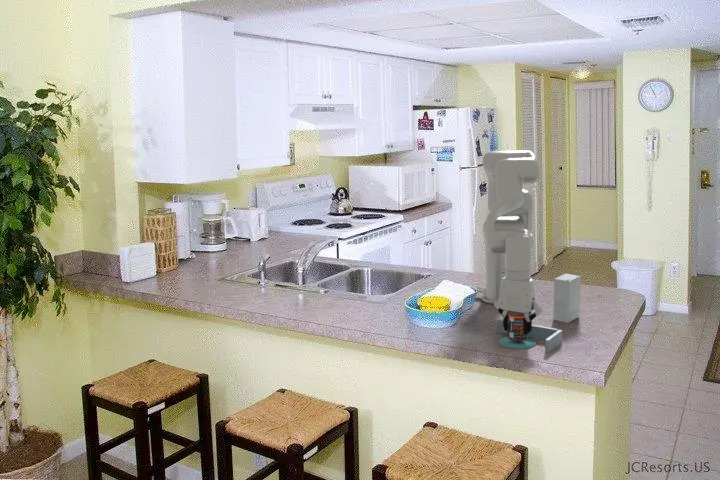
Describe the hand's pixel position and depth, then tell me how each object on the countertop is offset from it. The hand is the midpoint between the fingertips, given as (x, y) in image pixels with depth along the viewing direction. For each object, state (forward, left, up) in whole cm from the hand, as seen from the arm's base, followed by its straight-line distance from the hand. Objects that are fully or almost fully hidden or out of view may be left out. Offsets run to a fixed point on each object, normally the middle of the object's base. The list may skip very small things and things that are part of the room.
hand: (517, 330), depth 212 cm
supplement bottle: (0, 0, -3) cm, 3 cm away
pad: (0, 0, -4) cm, 4 cm away
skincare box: (+4, +31, -4) cm, 31 cm away
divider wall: (+1, +2, -4) cm, 4 cm away
